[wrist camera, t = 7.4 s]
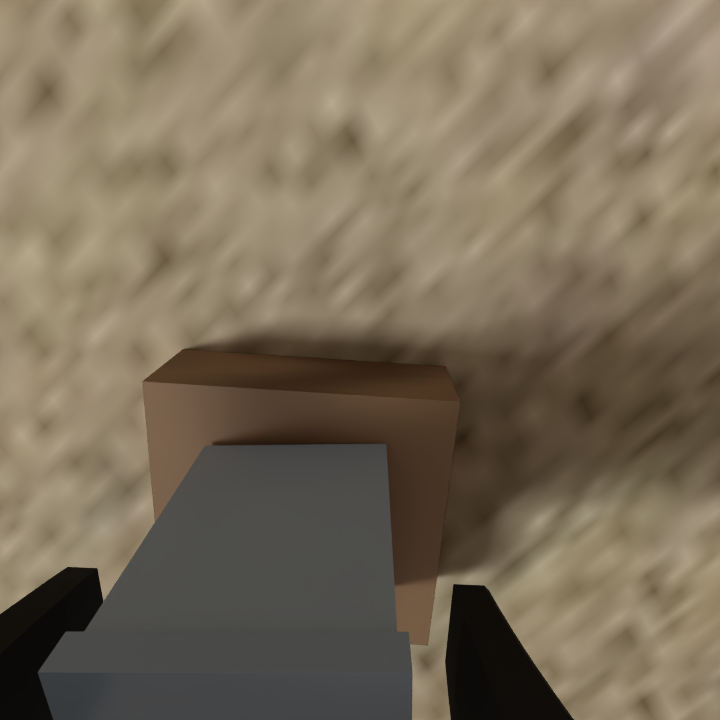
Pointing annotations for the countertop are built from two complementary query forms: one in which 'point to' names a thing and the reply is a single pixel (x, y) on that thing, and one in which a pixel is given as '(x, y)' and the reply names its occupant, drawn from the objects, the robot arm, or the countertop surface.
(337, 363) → the walnut block
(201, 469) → the grey block
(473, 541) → the countertop surface
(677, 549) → the countertop surface
